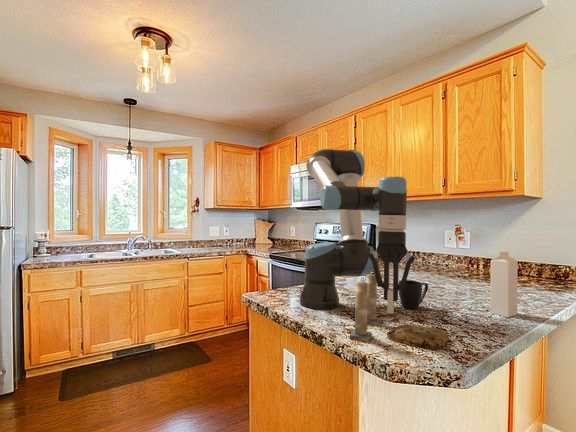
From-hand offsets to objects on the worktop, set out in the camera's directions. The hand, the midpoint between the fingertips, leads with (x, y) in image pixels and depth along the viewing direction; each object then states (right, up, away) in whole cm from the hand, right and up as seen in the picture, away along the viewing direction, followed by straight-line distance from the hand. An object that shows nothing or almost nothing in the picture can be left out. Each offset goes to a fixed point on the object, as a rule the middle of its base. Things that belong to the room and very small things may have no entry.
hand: (390, 311), depth 90 cm
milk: (+47, -7, +20) cm, 52 cm away
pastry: (+6, -7, -3) cm, 10 cm away
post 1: (-10, -6, -4) cm, 12 cm away
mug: (+18, -7, +27) cm, 33 cm away
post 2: (-3, -6, +9) cm, 11 cm away
